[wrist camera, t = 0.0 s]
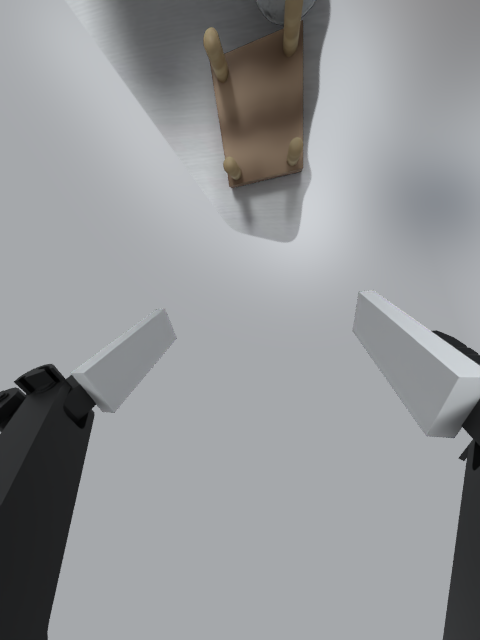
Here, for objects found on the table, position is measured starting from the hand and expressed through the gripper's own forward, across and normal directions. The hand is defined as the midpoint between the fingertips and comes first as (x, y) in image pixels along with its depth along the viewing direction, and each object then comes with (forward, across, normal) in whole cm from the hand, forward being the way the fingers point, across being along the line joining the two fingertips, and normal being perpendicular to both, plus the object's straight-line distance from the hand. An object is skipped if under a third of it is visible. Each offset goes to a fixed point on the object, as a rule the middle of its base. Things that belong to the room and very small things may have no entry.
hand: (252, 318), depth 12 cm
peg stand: (+28, +1, +19) cm, 34 cm away
